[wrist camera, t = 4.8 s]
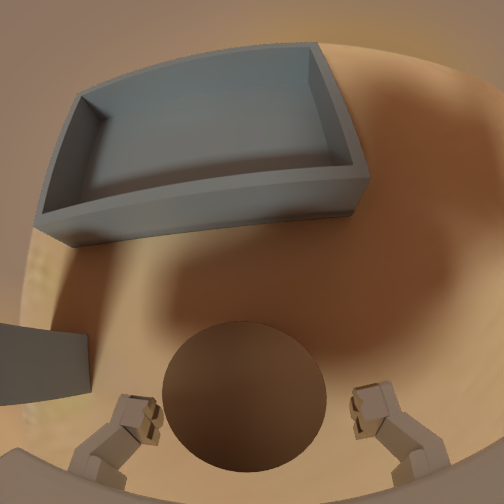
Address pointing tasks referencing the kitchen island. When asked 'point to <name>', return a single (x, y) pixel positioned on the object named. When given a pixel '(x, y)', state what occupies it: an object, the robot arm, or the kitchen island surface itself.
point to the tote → (204, 148)
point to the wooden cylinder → (244, 396)
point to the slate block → (41, 365)
